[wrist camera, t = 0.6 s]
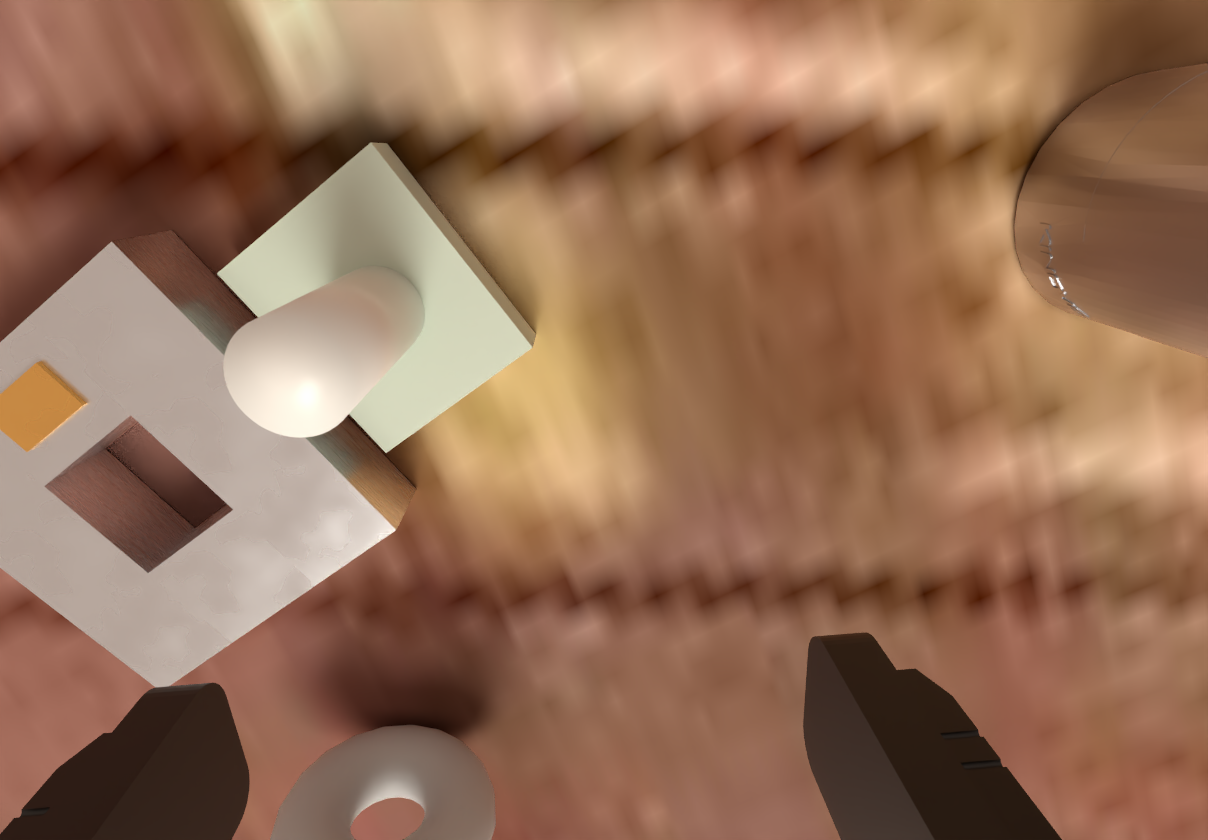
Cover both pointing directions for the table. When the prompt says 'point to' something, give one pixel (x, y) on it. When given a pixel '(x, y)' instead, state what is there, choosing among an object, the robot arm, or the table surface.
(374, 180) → the square base plate
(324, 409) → the peg
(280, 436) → the flange
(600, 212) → the table surface
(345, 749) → the donut
